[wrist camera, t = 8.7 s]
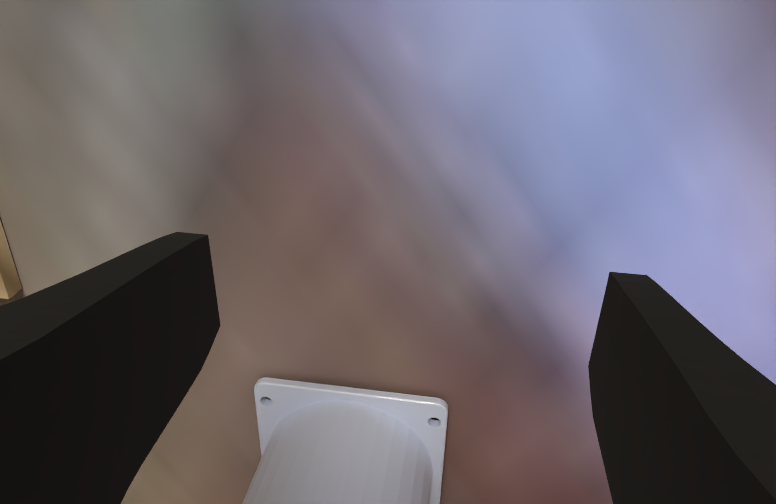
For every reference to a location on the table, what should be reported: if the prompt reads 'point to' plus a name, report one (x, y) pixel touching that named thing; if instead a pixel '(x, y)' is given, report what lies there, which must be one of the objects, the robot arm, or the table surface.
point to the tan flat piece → (7, 270)
